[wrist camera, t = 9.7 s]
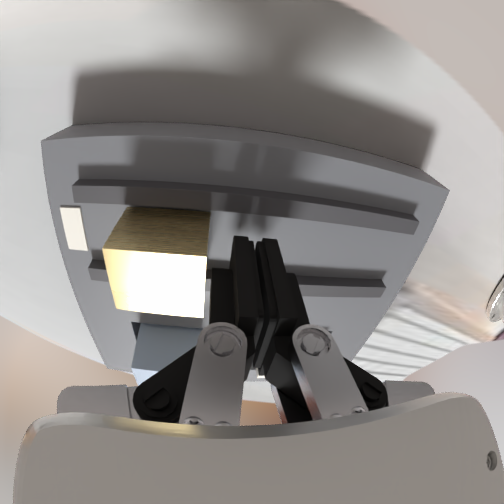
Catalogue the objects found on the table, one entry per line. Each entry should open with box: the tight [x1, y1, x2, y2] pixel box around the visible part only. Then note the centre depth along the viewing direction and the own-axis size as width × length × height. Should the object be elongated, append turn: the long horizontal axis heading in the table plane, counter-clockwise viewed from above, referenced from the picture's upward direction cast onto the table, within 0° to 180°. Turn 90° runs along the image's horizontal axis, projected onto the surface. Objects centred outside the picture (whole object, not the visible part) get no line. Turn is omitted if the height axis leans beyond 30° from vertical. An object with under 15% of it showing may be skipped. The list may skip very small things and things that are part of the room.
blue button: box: [131, 323, 203, 386], centre depth 16 cm, size 4×4×4 cm
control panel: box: [41, 122, 450, 381], centre depth 16 cm, size 20×18×4 cm
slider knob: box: [102, 207, 211, 317], centre depth 11 cm, size 4×3×3 cm
